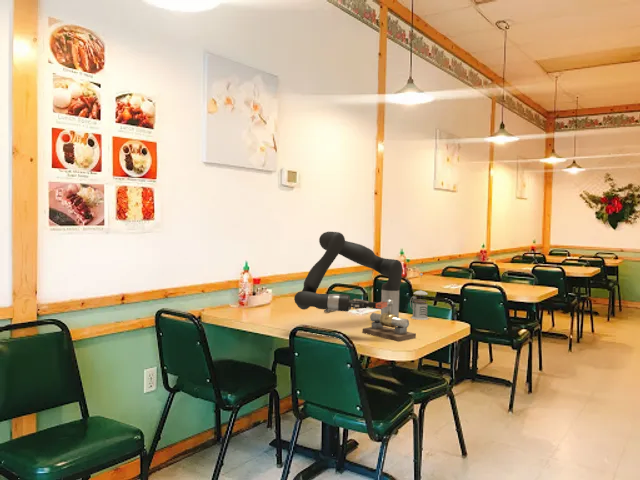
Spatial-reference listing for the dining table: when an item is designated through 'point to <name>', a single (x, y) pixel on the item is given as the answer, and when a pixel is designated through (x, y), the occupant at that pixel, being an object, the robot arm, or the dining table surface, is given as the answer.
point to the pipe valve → (389, 322)
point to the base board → (389, 333)
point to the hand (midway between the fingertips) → (377, 305)
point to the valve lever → (384, 303)
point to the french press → (418, 312)
